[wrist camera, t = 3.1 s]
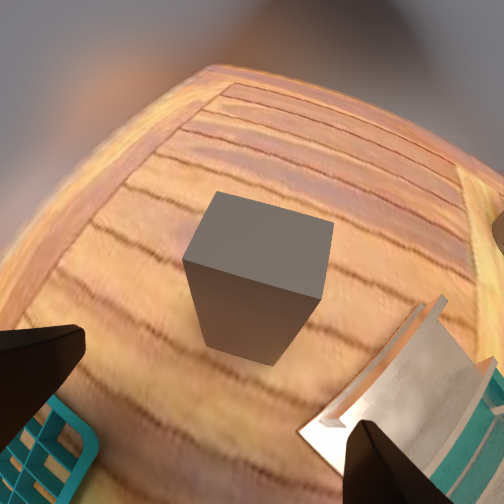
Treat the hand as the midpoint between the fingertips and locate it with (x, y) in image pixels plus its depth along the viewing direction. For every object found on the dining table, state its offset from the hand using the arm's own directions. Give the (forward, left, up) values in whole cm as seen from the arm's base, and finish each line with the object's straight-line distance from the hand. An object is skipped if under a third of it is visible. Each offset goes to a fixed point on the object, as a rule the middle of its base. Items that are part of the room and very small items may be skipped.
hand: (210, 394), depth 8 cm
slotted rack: (+18, -5, -12) cm, 23 cm away
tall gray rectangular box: (+1, +6, -12) cm, 13 cm away
